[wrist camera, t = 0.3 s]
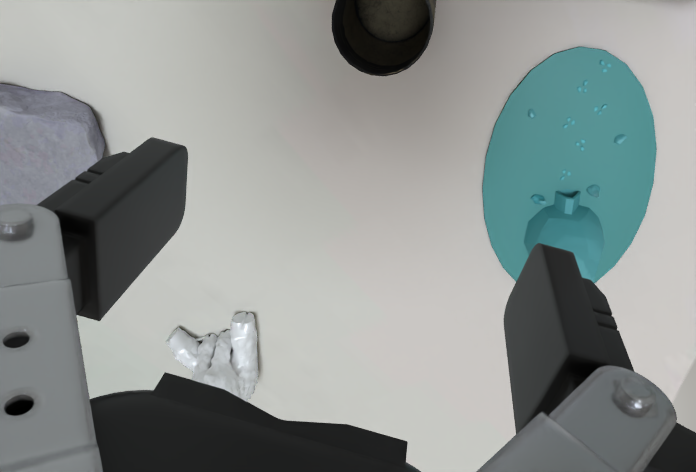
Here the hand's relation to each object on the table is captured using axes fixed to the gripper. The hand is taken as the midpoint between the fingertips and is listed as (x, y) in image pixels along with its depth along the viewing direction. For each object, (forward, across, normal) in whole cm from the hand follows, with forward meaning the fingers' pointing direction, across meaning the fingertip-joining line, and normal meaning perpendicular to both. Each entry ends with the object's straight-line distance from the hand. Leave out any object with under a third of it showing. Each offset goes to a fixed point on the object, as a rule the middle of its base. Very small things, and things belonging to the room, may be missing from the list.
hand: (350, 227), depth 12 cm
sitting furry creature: (+27, +10, +34) cm, 45 cm away
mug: (+29, +2, -2) cm, 29 cm away
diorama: (+29, -14, +9) cm, 33 cm away
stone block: (+27, +26, +18) cm, 42 cm away
